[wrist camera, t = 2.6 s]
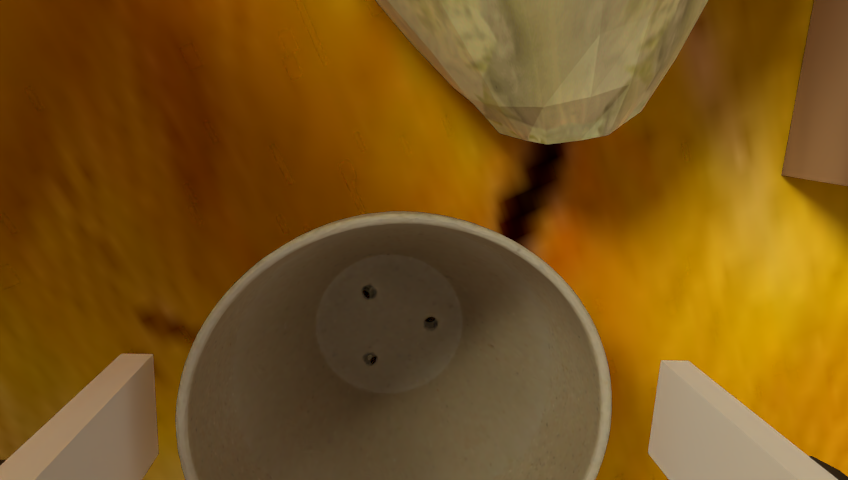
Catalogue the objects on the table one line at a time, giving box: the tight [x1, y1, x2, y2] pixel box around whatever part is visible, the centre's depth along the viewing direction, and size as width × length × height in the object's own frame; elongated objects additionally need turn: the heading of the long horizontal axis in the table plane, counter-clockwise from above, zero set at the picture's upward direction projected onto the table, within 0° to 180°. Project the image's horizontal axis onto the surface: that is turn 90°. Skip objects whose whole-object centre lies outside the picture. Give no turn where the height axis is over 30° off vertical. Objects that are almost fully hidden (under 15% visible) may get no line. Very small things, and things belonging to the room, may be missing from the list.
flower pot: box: [175, 211, 612, 480], centre depth 17 cm, size 10×10×7 cm
